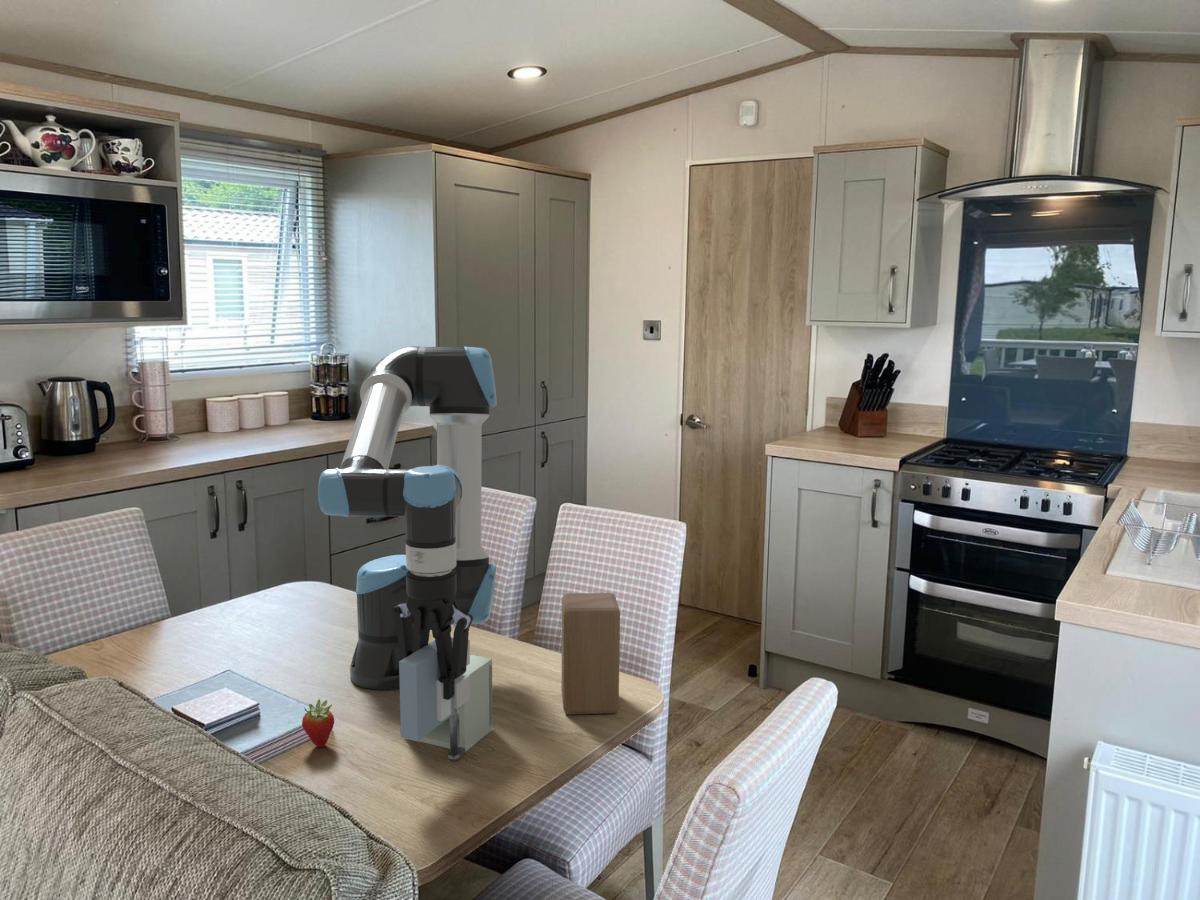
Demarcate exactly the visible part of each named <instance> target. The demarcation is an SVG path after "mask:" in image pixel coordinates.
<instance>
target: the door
mask: <svg viewBox="0 0 1200 900" xmlns="http://www.w3.org/2000/svg"><path fill="white" fill-rule="evenodd" d="M451 641H452V648H453V636H451ZM470 648H471V647H470V640H469V639H468V650H467V665H469V664H470V655H471V654H470V652H471V650H470ZM467 665H466V666H467ZM440 677H441V674H440V668H439V661H438V655H437V648H436V641H435V640H433V641H431V642H430V643H428V645H426V646H424V647H423V648H421V649H419V650H418V651H416V652H414V653H413V654H411V655H409V656H408V657H406V658H404V659H403V660H401V661H399V679H400V688H399V711H400V712H399V713H400V738H402V739H407V740H409V741H415V742H420V741H419V740H420V739H422V738H423V737H424V736H426V735H427V734H428V733H430V732H431V731H432V730H434V729H435V728H436V727H438V726H439V725H440V724H442V723H443V722H444V721H446V720H447V719H448V718H450V717H451V716H452V715H454V708H456V709H457V708H459V707H460V706H461V705H463V704H464V703H465V702H467V701H468V700H469V699H470V675H465V674H463V675H461V676H460V677H458V678H457V679H455V694H454V697H452V698H451V714H450V715H449V716H448V717H446V718H445V719H444V720H442V721H438V720H437V680H438V679H439V678H440Z"/></svg>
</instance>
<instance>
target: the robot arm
mask: <svg viewBox="0 0 1200 900" xmlns="http://www.w3.org/2000/svg"><path fill="white" fill-rule="evenodd" d="M494 373H495V372H494V367H493V361H492V357H491V354H490V352H489V351H488V350H487V349H486V348H483V347H474V346H467V345H466V346H465V345H464V346H421V345H420V346H416V345H415V346H413V345H412V346H407V347H403V348H400V349H396V350H395V351H393V352H391V353H389V354H387V355H386V356H385V357H382V358H381V359H380V360H379V361H378V362H376V364H374V366H373V367H372V368H370V369H369V371H368V372H367V374H366V375H365V376H364V379H363V381H362V384H361V386H360V391H359V396H360V401H361V405H360V407H359V410H358V413H357V416H356V419H355V422H354V426H353V427H352V428H353V429H352V432H351V434H350V437H349V441H348V443H347V446H346V449H345V451H344V454H343V457H342V461H341V465H340V467H339V468H338V467H334V468H330V469H325V470H322V472H321V474H320V475H319V480H318V484H317V485H318V487H317V497H318V498H317V499H318V505H319V508H320V511H321V512H322V513H323V514H324V515H326V516H335V517H336V516H338V517H345V518H351V517H354V518H356V517H404V525H405V526H404V528H405V554H394V555H388V556H384V557H380V558H376V559H373V560H370V561H367V562H366V563H365V564H362V565H361V566H360V567H359V569H358V571H357V574H356V589H355V593H356V607H357V609H356V611H357V629H358V630H357V632H358V633H357V634H358V637H357V638H358V639H357V643H356V646H355V650H354V653H353V655H352V659H351V661H350V667H349V673H350V676H349V677H350V681H351V682H352V683H353V684H354V685H356V686H358V687H360V688H365V689H369V690H380V691H384V690H385V691H386V690H387V691H388V690H397V689H400V679H399V661H401V660H403V659H404V658H406V657H408V656H409V655H411V654H413V653H414V652H416V651H418V650H419V649H421V648H423V647H424V646H426V645H428V644H429V641H430V632H431V634H432V637H433V639H434V641H436V648H437V655H438V661H439V668H440V674H441V677H440V678H439V679H438V680H437V720H438V721H442V720H444V719H445V718H446V717H448V716H449V715H450V714H451V698H452V697H454V694H455V679H457V678H458V677H460V676H461V675H463V674H464V673H465V672H466V665H467V650H468V640H469V631H470V627H471V625H480V624H481V625H482V624H485V623H486V622H487V621H488V620H489V619H490V616H491V611H492V607H493V606H492V605H493V600H494V592H495V586H496V585H495V584H496V576H497V565H496V564H493V563H491V562H490V554H489V553H488V552H487V551H486V550H485V549H484V548H483V546H482V462H483V461H482V460H483V459H482V457H483V456H482V455H483V454H482V451H483V449H482V444H483V443H482V438H483V437H482V436H483V435H482V431H483V430H482V427H483V424H484V423H485V422H486V421H487V420H488V419H489V417H490V408H494V407H497V406H498V399H497V389H496V381H495V374H494ZM410 407H429V417H430V418H431V419H432V421H434V422H435V423H436V425H437V426H436V427H437V429H436V431H437V432H436V433H437V436H436V438H437V441H436V442H437V446H436V447H437V449H436V450H437V451H436V452H437V455H436V460H437V461H436V462H437V463H436V465H428V466H427V465H425V466H424V465H423V466H417V467H414V468H407V469H406V468H404V469H403V468H396V469H395V468H394V469H393V468H390V464H391V460H392V456H393V453H394V452H393V451H394V448H395V445H396V440H397V437H398V433H399V428H400V426H401V422H402V418H403V415H404V414H405V413H406V412H407V411H408V410H409V408H410ZM452 625H453V626H452ZM452 627H454V629H453V636H451V633H452ZM451 637H453V648H452V641H451Z"/></svg>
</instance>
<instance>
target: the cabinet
mask: <svg viewBox="0 0 1200 900" xmlns="http://www.w3.org/2000/svg"><path fill="white" fill-rule="evenodd" d="M464 674H465V675H470V699H469V700H468V701H467V702H465V703H464V704H463V705H461V706H460V707H459V708H457V734H458V747H462V748H465V753H466V752H467V751H469V750H470V749H471V748H473V746H475V745H476V744H477V743H478V742H479V741H481V740H482V739H483V738H484V737H486V736H487V735H488V734H489V733H490V732H492V730H493V658H490V657H485V656H480V655H474V654H470V664H469V665H467V666H466V672H465V673H464ZM418 742H419V743H425V744H428V745H431V746H432V745H433V746H436V747H437V746H438V747H440V748H444V749H445V748H446V749H449V750H450V718H448V719H447V720H446V721H444V722H443V723H442V724H440V725H439V726H438V727H436V728H435V729H434V730H432V731H431V732H430V733H428V734H427V735H426V736H424V737H423V738H422V739H420V740H419V741H418Z"/></svg>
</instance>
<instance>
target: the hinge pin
mask: <svg viewBox="0 0 1200 900" xmlns="http://www.w3.org/2000/svg"><path fill="white" fill-rule="evenodd" d="M449 751H450V752H448V753H447V760H448V762H451V763H452V762H453V763H456V762H459V761H460V760H461V757H462V756H463V755H465V754H466V752H465V748H462V747H458V734H457V709H456V708H454V715H452V716H451V717H450V749H449Z"/></svg>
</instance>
